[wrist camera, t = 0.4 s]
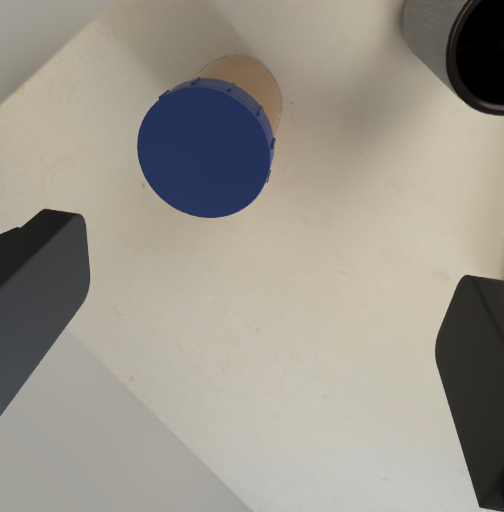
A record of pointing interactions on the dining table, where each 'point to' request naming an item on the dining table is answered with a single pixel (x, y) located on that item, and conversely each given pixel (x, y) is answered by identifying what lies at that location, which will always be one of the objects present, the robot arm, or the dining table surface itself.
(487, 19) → the grey tumbler
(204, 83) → the jar lid
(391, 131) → the dining table surface
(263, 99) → the honey jar
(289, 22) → the dining table surface
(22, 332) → the robot arm
